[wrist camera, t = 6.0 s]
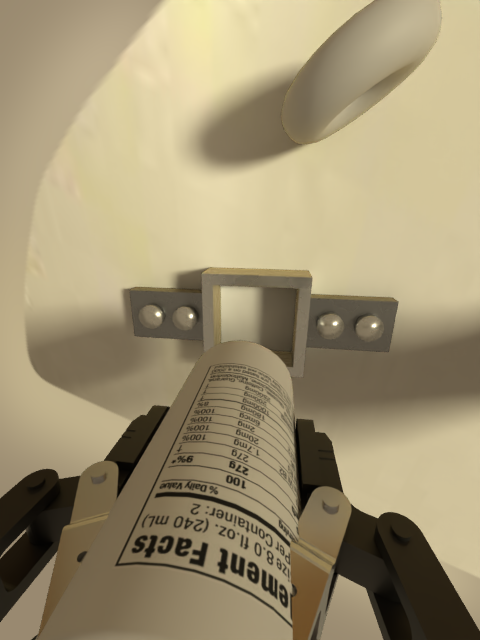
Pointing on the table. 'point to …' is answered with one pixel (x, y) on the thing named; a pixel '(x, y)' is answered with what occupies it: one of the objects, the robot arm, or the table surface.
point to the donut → (359, 66)
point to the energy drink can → (200, 517)
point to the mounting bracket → (310, 310)
